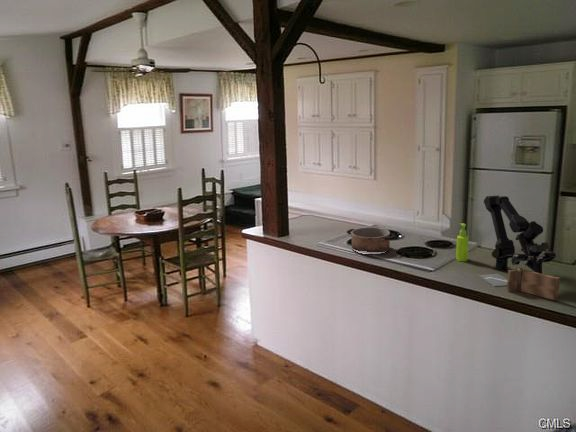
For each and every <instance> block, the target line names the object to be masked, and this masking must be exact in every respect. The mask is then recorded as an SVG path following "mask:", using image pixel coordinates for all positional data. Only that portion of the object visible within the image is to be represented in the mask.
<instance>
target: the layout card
mask: <svg viewBox="0 0 576 432" xmlns="http://www.w3.org/2000/svg"><path fill="white" fill-rule="evenodd" d="M478 277H479V278H481V279H482V280H484V281H485V282H486V283H488V284H489V285H491V286H492V287H494V288H496V287H507V283H508V278H505V277H504V276H502V275H501V274H499V273H490V274H489V273H488V274H478Z"/></svg>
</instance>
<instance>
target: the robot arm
mask: <svg viewBox="0 0 576 432" xmlns="http://www.w3.org/2000/svg"><path fill="white" fill-rule="evenodd" d="M483 204H484V206H485V209H486V210H487V211H488V212H489V213H490V215H491V220H492V224H493V227H494V231H495V237H496V242H495V245H494V247H495V249H493V251H491V256H492V258H494V259H495V266H493V267H492V269H493V270H497V271H501V272H508V270H511V267H510V266H509V259H511V261H510V262H511V265H512V266H517V265H519V264H520V263H521V262H525V263H524V266H526V267H528V268H529V269H531V271H532V272H536V273H541V274H543V263H549V262H550V263H551V262H552V261H554V260H555V258H557V254H556V252H554V251H547V250H550V245H549V243H548V242H547V241H546V242H545V241H544V242H542V243H541V244H538V243H537V242H535V241H534V240H536V239H537V238H538V237H539V236H540V235H541V234H543V232H544V227H543V226H542V225H541V224H539V223H537V222H536V221H535V220H533V221H528V220H527V219H526V218H525V216H522V215H520V214H519V212H518V211H517V210H516V208H515V207H514V206H513V204H512V203H511V201H510V199H509V197H508V196H506V195H504V196H501V195H487V196H485V198H484V199H483ZM502 212H503V213H504V214H505V216H506V217H507V219H508V221H509V223H508V225H509V227H510V230H511V231H512V233H517V234H516V237H515V241H518V242H519V244H520V247H521V249H520V251H521V252H523V253H520V254H519V253H518V254H516V253H515V252H516V247H515V245H514V241H513V240H512V239H509V237H508V233H507V229H506V226H505V223H504V222H505V221H504V219H503V213H502ZM543 252H545V253H543ZM515 254H516V255H515Z"/></svg>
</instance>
